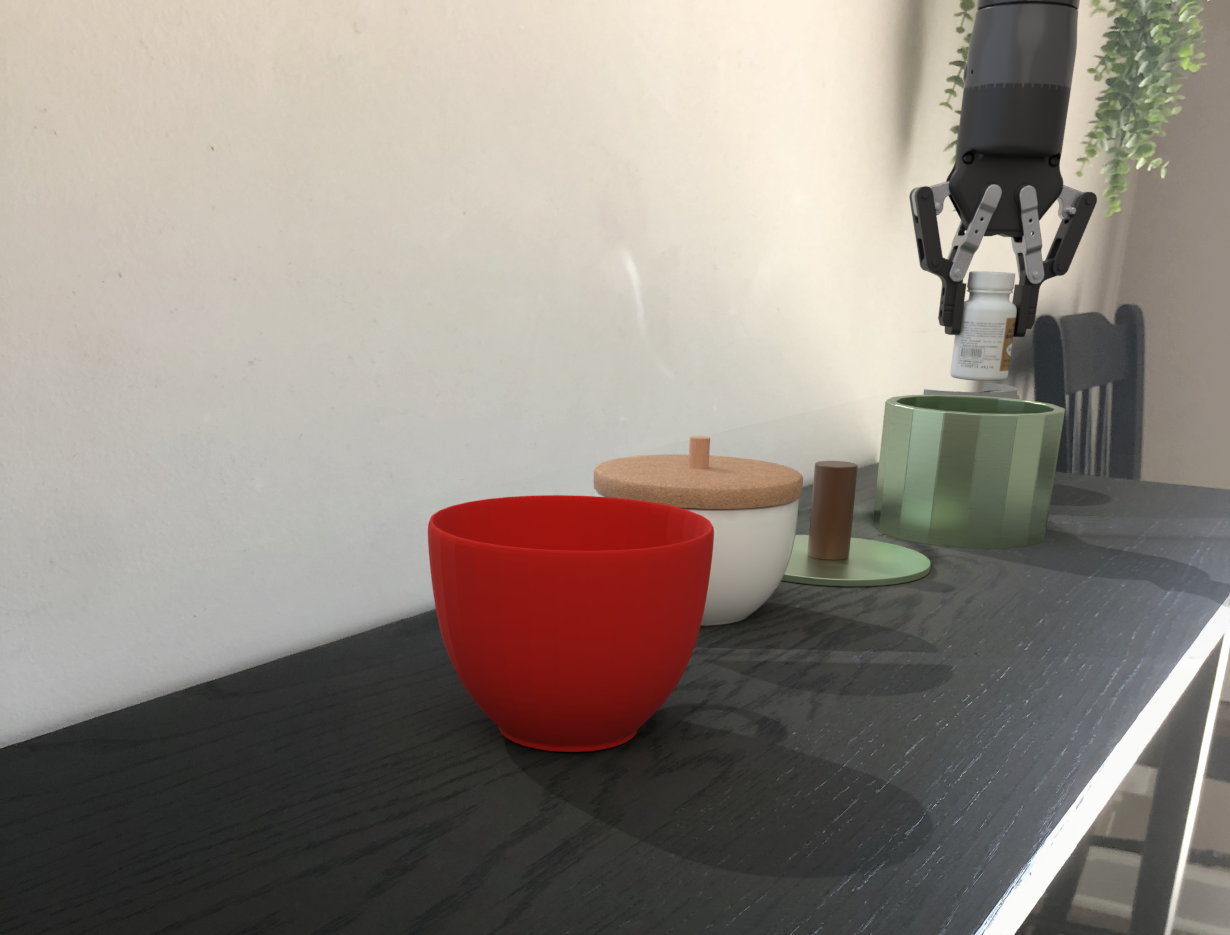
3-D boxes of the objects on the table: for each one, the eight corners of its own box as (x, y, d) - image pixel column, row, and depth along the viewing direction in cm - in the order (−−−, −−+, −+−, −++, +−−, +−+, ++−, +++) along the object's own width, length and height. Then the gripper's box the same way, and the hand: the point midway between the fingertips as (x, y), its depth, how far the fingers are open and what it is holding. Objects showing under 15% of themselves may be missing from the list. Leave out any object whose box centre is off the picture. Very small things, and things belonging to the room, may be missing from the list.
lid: (903, 550, 104) (915, 450, 101) (951, 597, 90) (966, 483, 87) (717, 546, 103) (723, 446, 100) (737, 593, 90) (745, 478, 87)
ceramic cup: (736, 679, 72) (748, 492, 68) (672, 793, 57) (683, 562, 53) (508, 656, 75) (508, 475, 71) (390, 759, 60) (380, 537, 56)
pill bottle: (1015, 382, 102) (1031, 273, 99) (960, 381, 102) (973, 271, 99) (996, 376, 106) (1010, 272, 103) (942, 375, 106) (955, 270, 103)
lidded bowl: (799, 650, 78) (816, 456, 73) (584, 641, 78) (588, 448, 74) (783, 597, 89) (797, 426, 85) (596, 590, 90) (600, 420, 85)
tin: (1014, 522, 116) (1032, 396, 111) (1066, 557, 103) (1089, 417, 99) (858, 519, 115) (871, 392, 111) (892, 553, 103) (908, 412, 99)
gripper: (931, 74, 92) (903, 336, 99) (1134, 81, 93) (1092, 341, 100) (907, 85, 99) (882, 329, 106) (1096, 92, 100) (1059, 334, 107)
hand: (984, 334), depth 103 cm, fingers closed on pill bottle, 4 cm apart
